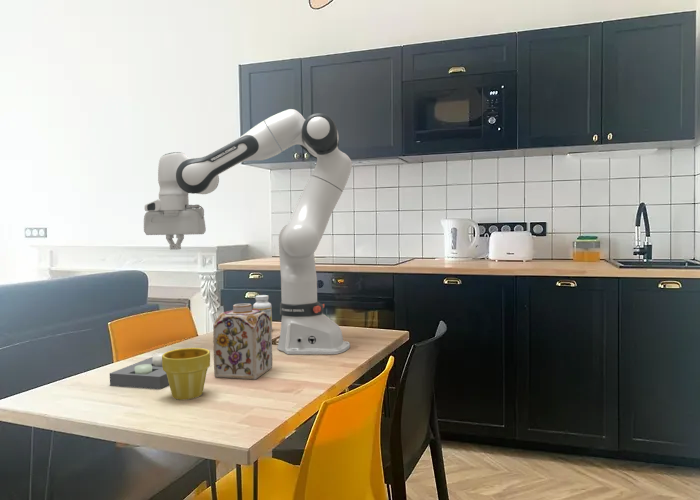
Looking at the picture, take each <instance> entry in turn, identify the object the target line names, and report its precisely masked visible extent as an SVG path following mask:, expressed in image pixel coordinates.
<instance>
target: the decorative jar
mask: <svg viewBox="0 0 700 500" xmlns="http://www.w3.org/2000/svg"><path fill="white" fill-rule="evenodd" d="M212 328H213V331H212V333H213V335H212V336H213V341H212V343H213V346H212V347H213V351H212V352H213V353H212V354H213V369H214V370H213V371H214V372H213V374H214V375H213V376H214V377H215V378H220V379H221V378H222V379H223V378H224V379H237V380H238V379H240V380H241V379H242V380H254V381H255V380H257V379H258V378H259V377H261V376H263V375H264V374H265V373H267V372H269V371H270V370H271V369H272V368H273V339H272V338H273V337H272V336H273V334H272V330H271V319H270V317H269V316H268V315H267V314H266V312H264V311H262V310H259V309H253V305H252V304H251V303H235V304H233V305H232V309H231V310H226V311H222V312H221V313H219V315H218V316H217V318H216V320H215V321H214V323H213V327H212Z"/></svg>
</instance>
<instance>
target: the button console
mask: <svg viewBox="0 0 700 500" xmlns="http://www.w3.org/2000/svg"><path fill="white" fill-rule="evenodd" d="M141 364H151V365H152V372H151V373H148V374H146V375H145V374H135V366H137V365H141ZM109 386H113V387H121V388H123V387H126V388H135V389H136V388H138V389H150V390H151V389H152V390H162V389H164V388H165V387H166V388H167V387H168V386H169V382H168V378H167V374H166V372H165V371H164V370H163V367H155V366H153V359H152V356H151V357H148V358H146V359H143V360H141V361H138V362H134V363H133V364H131V365H128V366H125V367H122V368H120V369H117V370H114V371H113V372H109Z"/></svg>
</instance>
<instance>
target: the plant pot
mask: <svg viewBox="0 0 700 500" xmlns="http://www.w3.org/2000/svg"><path fill="white" fill-rule="evenodd" d="M163 353H164V354H163V355H162V366H163V370H164V371H165V372H166V374H167V378H168V382H169V385H168V386H169V389H170V393H171V397H172V398H173V399H174V400H179V401H180V400H181V401H184V400H185V401H186V400H187V401H188V400H193V399H197V398H199V397H200V396H202V395H203V393H204V388H205V384H206V383H205V382H206V377H207V372H208V369H209V367H211V366H210V365H211V351H210V350H209V349H207V348H202V347H185V348H177V349H172V350H169V351H166V352H163Z"/></svg>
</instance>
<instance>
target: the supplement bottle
mask: <svg viewBox="0 0 700 500" xmlns="http://www.w3.org/2000/svg"><path fill="white" fill-rule="evenodd" d="M254 299H255V303H253V305H252V309H259V310H262V311H264V312H266V314H267V315H268V316H269V317H270V319H271V331H272V330H273V313H272V311H273V310H272V303H271V302H269V299H270V298H269V294H268V295H266V294H260V295H259V294H258V295H255V298H254Z"/></svg>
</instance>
